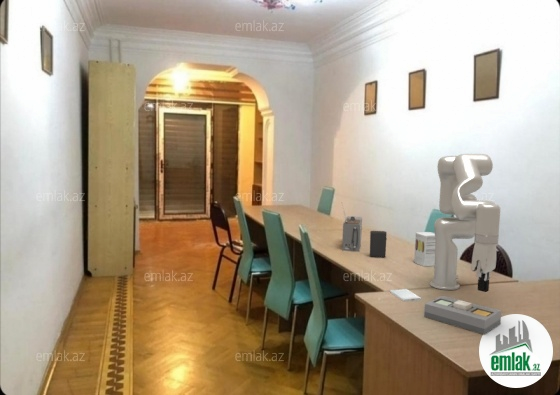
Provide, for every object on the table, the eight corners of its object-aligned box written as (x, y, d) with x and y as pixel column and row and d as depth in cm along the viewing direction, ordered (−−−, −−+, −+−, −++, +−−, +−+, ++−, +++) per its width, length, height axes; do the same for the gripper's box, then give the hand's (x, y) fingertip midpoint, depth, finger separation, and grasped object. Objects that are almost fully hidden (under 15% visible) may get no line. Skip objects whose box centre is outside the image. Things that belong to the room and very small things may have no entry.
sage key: (440, 306, 173) (441, 299, 172) (452, 309, 169) (452, 303, 169) (434, 309, 170) (435, 302, 169) (446, 312, 166) (446, 305, 166)
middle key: (458, 306, 168) (459, 300, 167) (471, 309, 164) (471, 303, 164) (453, 309, 164) (453, 302, 164) (465, 312, 161) (466, 306, 161)
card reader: (385, 256, 262) (386, 230, 261) (386, 258, 259) (387, 232, 257) (369, 255, 264) (370, 230, 262) (369, 257, 260) (370, 231, 259)
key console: (442, 307, 177) (442, 295, 177) (500, 324, 162) (501, 310, 161) (424, 316, 168) (424, 303, 167) (484, 334, 152) (485, 320, 151)
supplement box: (413, 262, 249) (414, 232, 247) (427, 261, 252) (429, 231, 250) (424, 266, 240) (425, 235, 238) (438, 265, 243) (440, 234, 241)
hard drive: (389, 290, 196) (403, 298, 184) (407, 288, 198) (421, 297, 186) (389, 293, 197) (403, 302, 185) (407, 292, 198) (421, 301, 186)
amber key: (477, 316, 163) (478, 309, 162) (490, 319, 159) (491, 313, 159) (472, 319, 160) (472, 312, 159) (485, 323, 156) (485, 316, 156)
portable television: (361, 244, 296) (363, 198, 293) (359, 252, 273) (361, 202, 270) (343, 243, 299) (344, 197, 296) (339, 250, 276) (341, 201, 273)
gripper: (484, 234, 164) (481, 284, 166) (466, 240, 154) (462, 292, 156) (505, 238, 159) (502, 288, 161) (488, 244, 149) (485, 298, 151)
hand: (483, 290), depth 158 cm, fingers closed
